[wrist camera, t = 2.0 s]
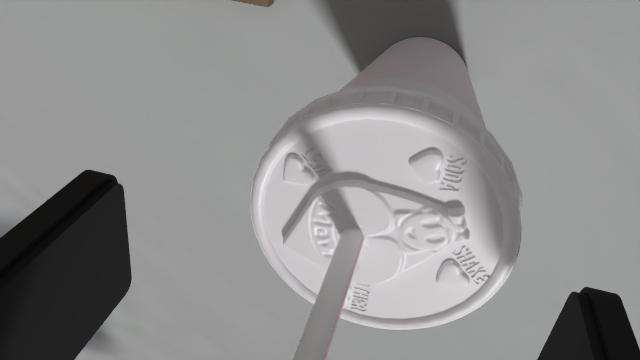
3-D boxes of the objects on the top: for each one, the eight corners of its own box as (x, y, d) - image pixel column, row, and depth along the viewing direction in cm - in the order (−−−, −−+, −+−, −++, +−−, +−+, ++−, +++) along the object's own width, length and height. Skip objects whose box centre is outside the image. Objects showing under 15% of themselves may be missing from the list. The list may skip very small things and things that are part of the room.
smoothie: (317, 21, 20) (89, 242, 9) (495, -23, 18) (514, 195, 6) (360, 169, 23) (232, 489, 11) (519, 147, 21) (564, 520, 9)
